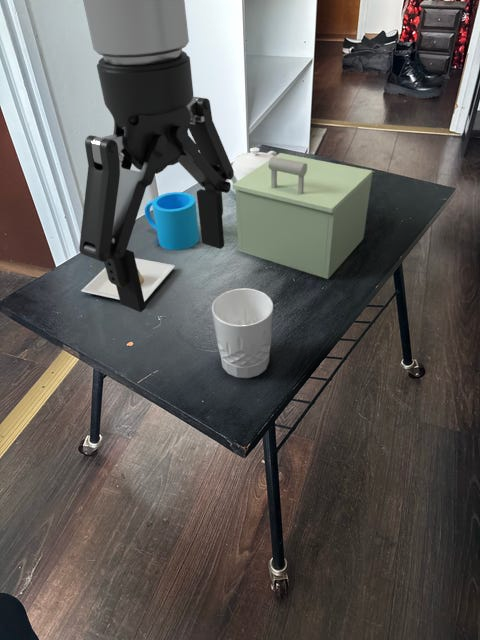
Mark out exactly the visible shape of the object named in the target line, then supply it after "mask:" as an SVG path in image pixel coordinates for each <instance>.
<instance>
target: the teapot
mask: <svg viewBox="0 0 480 640" xmlns="http://www.w3.org/2000/svg"><path fill="white" fill-rule="evenodd" d="M260 150H261V149H260V147H255V146H254V147H251V148H249V151H250V152H244V153H242V154H240V155H238V156H236V157H235V159H234V161H233V162H232V164H231V166H232V168H233V171H234V175H233V178H232V179H231V180H229V179H227V182H230V184H231V188H230V191H231V192H232V193H233V194H234V195H236V193H235V189H233V187H232V185H233V184H234V183H236V182H237V181H239V180H240V179H242V178H243V177H245V176H246V175H248V174H249V173H251V172H252V171H254V170H255V169H257V168H258V167H260V166H261V165H263V164H264V163H266V162H267V161H269V160H270V158H271V157H275V156H276V155H278V153H277V152H276V151H274V150H269V151H267V152H264V151H260Z"/></svg>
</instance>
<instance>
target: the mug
mask: <svg viewBox="0 0 480 640" xmlns="http://www.w3.org/2000/svg"><path fill="white" fill-rule="evenodd" d="M196 202H197V201H196V198H195V196H194V195H193V194H190V193H189V192H183V191H173V192H167V193H163V194H160V195H159V196H156V197H155V198H154V199H152V200H150V201H148V202H147V203H146V204H145V206H144V216H145V219H146V220H147V223H148V224H149V226H151V227H152V228H153V230H155V231H156V234H157V241H158V244H159V246H160V247H162V248H163V249H165V250H169V251H182V250H183V251H184V250H187V249H190V248H192V247H194V246H196V245H197V244H198V243H199V241H200V230H199V229H200V228H199V221H198V211H197V203H196ZM151 207H152V211H153V216H154V219H153V216H152V214H151Z"/></svg>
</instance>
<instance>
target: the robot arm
mask: <svg viewBox="0 0 480 640" xmlns="http://www.w3.org/2000/svg"><path fill="white" fill-rule="evenodd" d="M82 2H83V7H84V12H85V17H86V21H87V25H88V30H89V36H90V40H91V45H92V49H93V50H94V52H96V53H97V54H98V55H100V56H102V57H101V58H100V59H99V60H98V63H97V64H96V69H97V74H98V78H99V83H100V87H101V88H100V89H101V93H102V97H103V102H104V105H105V107H106V108H107V110H108V111H109V113H110V115H111V116H112V118H113V134H110V135H106V136H102V137H101V136H96V135H92V134H91V135H88V136H87V137H85V140H84V146H85V147H84V148H85V152H86V159H87V175H86V184H85V193H84V202H83V212H82V222H81V229H80V238H79V247H78V249H79V250H78V251H79V253H80V254H81V255H83V256H87V257H88V258H92V259H94V260H97V261H99V262H102V263H103V264H104V268H106V271H107V274H108V279H109V281H110V282H111V283H112V284H115V285H116V287H117V291H118V295H119V299H120V300H119V302H120V305H122V306H125V307H127V308H130V309H132V310H134V311H136V312H139V313H142V312H143V311H144V310H145V309H147V306H146V303H145V302H146V301H145V302H144V298H143V293H142V288H141V284H140V279H139V275H138V270H137V265H136V261H135V258H136V257H135V252H134V251H132V250H129V249H128V245H129V242H130V240H131V237H132V233H133V230H134V228H135V224H136V221H137V218H138V215H139V211H140V208H141V205H142V202H143V199H144V195H145V192H146V189H147V188H148V187H149V186H151V185H152V183H153V182H154V179H155V175H158V174H160V173H161V172H163V171H164V170H165V169H166V168H168V166H174V165H176V164H180V166H182V167H183V168H184V169H185V170H186V172H187V173H188V174H189V175H190V176H191V177H192V178H193V179H194V180H195V182H197V183H198V184H199V186H201V187H202V188H200V189H198V190H196V199H197V209H198V218H199V226H200V228H199V229H200V236H201V243H202V244H203V245H206V246H210V247H212V248H215V249H219V250H221V249H223V248H224V247H225V237H224V235H225V234H224V225H223V223H224V222H223V215H224V214H223V213H224V204H223V203H224V202H223V193H225V194H228V193H229V192H230V191H231V189H230V188H231V184H230V182H228V179H229V180H231V179H232V178H233V175H234V171H233V168H232V163H231V160H230V159H229V156H228V154H227V151H226V149H225V147H224V144H223V142H222V139H221V137H220V135H219V132H218V130H217V128H216V125H215V122H214V120H213V114H212V108H211V107H212V106H211V102H210V101H211V100H210V99H209V98H208V97H207V98H206V97H199V96H194V87H193V75H192V66H191V57H190V56H189V55H188V54H187V52H186V51H184V50H183V49H185V48H186V47H187V45H188V44H189V42H190V38H189V30H188V20H187V12H186V11H187V10H186V3H185V0H82ZM188 131H189V132H188ZM189 133H190V135H189ZM132 165H133V166H134V168H135V169H137V170H139V171H136V170H132V169H131V168H132ZM113 239H114V241H113Z"/></svg>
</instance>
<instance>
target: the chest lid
mask: <svg viewBox="0 0 480 640" xmlns="http://www.w3.org/2000/svg"><path fill="white" fill-rule="evenodd" d="M373 173H374V172H373V170H371V169H366V168H362V167H361V168H360V167H356V166H351V165H345V164H340V163H335V162H330V161H325V160H324V161H323V160H319V159H314V158H310V157H309V158H308V157H304V156H298V155H293V154H289V153H283V152H279V153H277V155H276V156H275V157H271V158H270V160H269V161H267V162H266V163H264V164H263V165H261V166H260V167H258V168H257V169H255V170H254V171H252V172H251V173H249V174H248V175H246V176H245V177H243V178H242V179H240V180H239V181H237V182H236V183H234V184H233V185H232V187H233V189H235V190H239V191H244V192H248V193H252V194H256V195H260V196H264V197H268V198H272V199H276V200H280V201H284V202H289V203H293V204H297V205H301V206H305V207H309V208H313V209H317V210H321V211H325V212H330V213H333V212H334V211H335V210H336V209H337V208H338V207H339V206H340V205H341V204H342V203H343V202H344V201H345V200H346V199H347V198H348V197H349V196H351V195H352V194H353V193H354V192H355V191H356V190H357V189H358V188H359V187H360V186H361V185H362V184H363V183H364V182H365V181H366V180H367V179H368V178H369V177H370V176H372V177H373Z"/></svg>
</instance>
